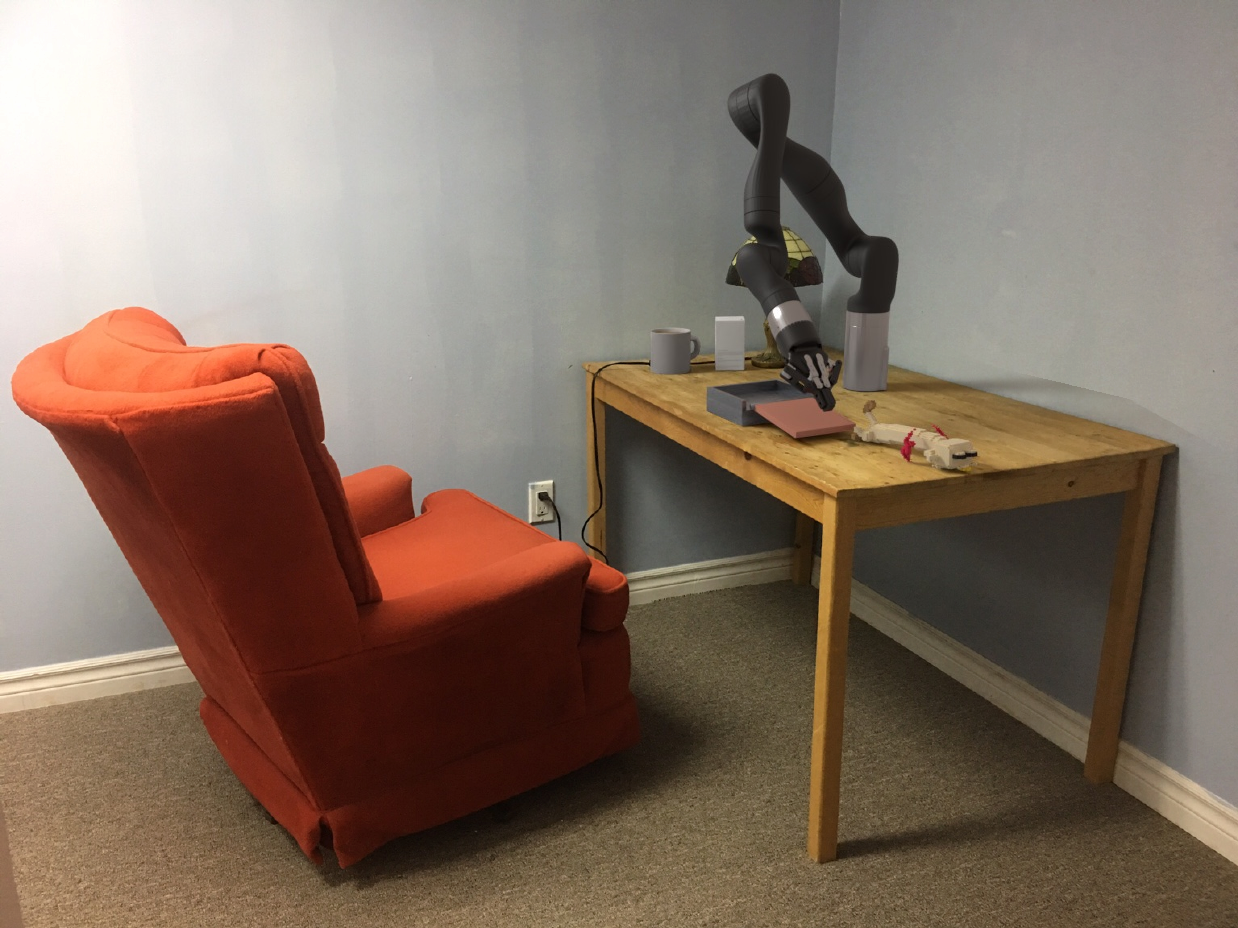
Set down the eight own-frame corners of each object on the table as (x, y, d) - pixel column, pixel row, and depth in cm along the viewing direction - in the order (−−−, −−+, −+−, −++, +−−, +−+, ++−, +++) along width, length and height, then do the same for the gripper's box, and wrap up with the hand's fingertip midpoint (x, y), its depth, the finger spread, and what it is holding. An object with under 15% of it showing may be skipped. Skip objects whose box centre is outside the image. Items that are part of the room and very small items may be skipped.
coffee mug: (658, 375, 223) (658, 334, 220) (645, 368, 232) (645, 329, 230) (709, 371, 227) (709, 331, 224) (694, 364, 236) (695, 325, 233)
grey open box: (706, 410, 189) (706, 386, 187) (776, 402, 195) (777, 378, 193) (741, 426, 176) (742, 400, 175) (815, 416, 183) (816, 391, 181)
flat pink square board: (749, 402, 175) (793, 432, 163) (811, 395, 181) (858, 423, 168) (748, 412, 176) (792, 442, 164) (809, 404, 181) (856, 432, 169)
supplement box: (743, 365, 234) (744, 315, 231) (744, 371, 227) (745, 320, 224) (714, 365, 235) (715, 315, 231) (714, 371, 228) (715, 320, 224)
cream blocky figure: (842, 450, 165) (949, 476, 143) (842, 402, 163) (951, 421, 141) (884, 442, 169) (994, 466, 147) (884, 396, 167) (996, 413, 145)
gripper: (771, 321, 165) (808, 401, 158) (832, 316, 170) (870, 393, 163) (755, 346, 171) (789, 424, 164) (814, 340, 176) (850, 416, 169)
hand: (829, 409), depth 164 cm, fingers closed
